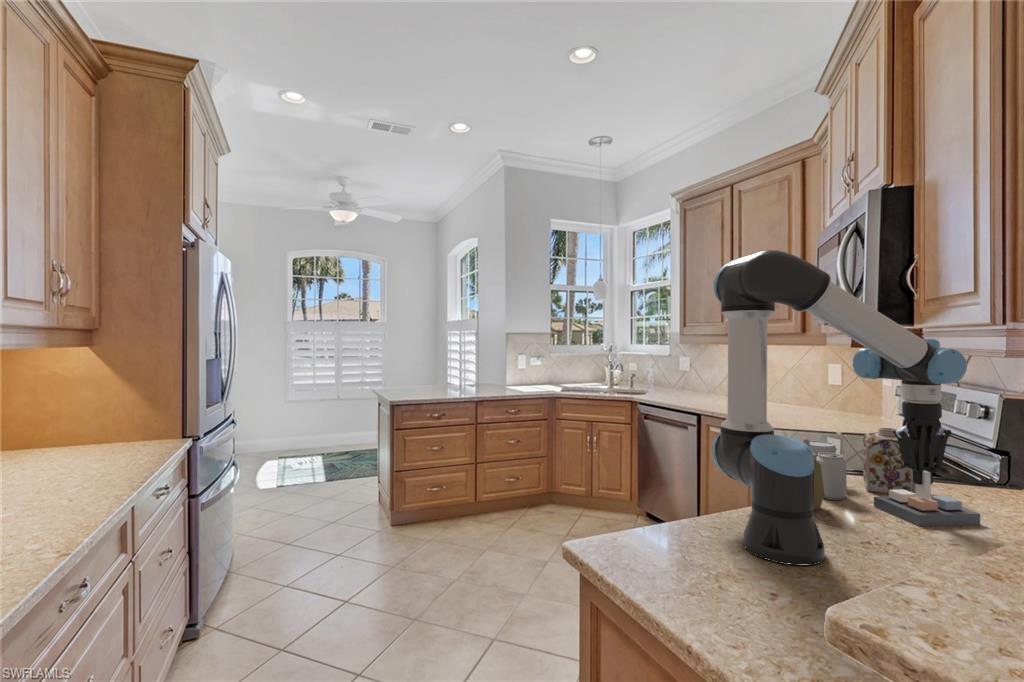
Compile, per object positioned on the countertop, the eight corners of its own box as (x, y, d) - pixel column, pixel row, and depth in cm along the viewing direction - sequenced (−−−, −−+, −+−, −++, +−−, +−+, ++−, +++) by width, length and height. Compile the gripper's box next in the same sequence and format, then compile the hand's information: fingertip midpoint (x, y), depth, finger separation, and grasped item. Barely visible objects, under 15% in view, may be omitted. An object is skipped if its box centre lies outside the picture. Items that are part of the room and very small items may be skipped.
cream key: (901, 506, 125) (901, 494, 125) (889, 501, 129) (888, 489, 129) (916, 506, 125) (916, 494, 125) (903, 501, 129) (903, 489, 129)
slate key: (946, 514, 119) (945, 501, 119) (931, 508, 123) (931, 496, 123) (962, 514, 120) (961, 501, 120) (946, 508, 124) (946, 496, 124)
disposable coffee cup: (837, 480, 156) (836, 442, 156) (837, 488, 148) (837, 447, 148) (802, 476, 161) (801, 439, 161) (800, 483, 153) (800, 444, 153)
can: (851, 501, 136) (851, 457, 136) (821, 499, 137) (821, 456, 137) (839, 492, 143) (839, 451, 143) (811, 491, 144) (810, 450, 144)
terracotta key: (921, 515, 119) (921, 502, 119) (908, 509, 123) (907, 496, 123) (938, 514, 119) (937, 501, 119) (923, 509, 123) (923, 496, 123)
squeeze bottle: (783, 501, 136) (782, 436, 136) (813, 501, 136) (812, 436, 136) (800, 512, 128) (799, 442, 128) (831, 512, 127) (830, 442, 127)
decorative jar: (917, 498, 138) (916, 433, 138) (866, 491, 144) (865, 430, 144) (910, 487, 148) (910, 427, 148) (863, 481, 154) (862, 423, 154)
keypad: (919, 526, 117) (918, 515, 117) (873, 506, 131) (873, 496, 131) (980, 524, 118) (980, 513, 118) (928, 505, 132) (928, 495, 132)
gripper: (908, 404, 117) (910, 503, 117) (961, 402, 118) (963, 501, 118) (883, 400, 125) (885, 493, 125) (933, 399, 125) (935, 491, 125)
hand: (923, 497), depth 121 cm, fingers closed
